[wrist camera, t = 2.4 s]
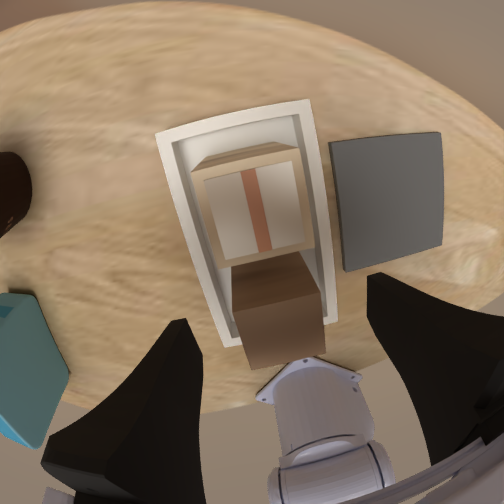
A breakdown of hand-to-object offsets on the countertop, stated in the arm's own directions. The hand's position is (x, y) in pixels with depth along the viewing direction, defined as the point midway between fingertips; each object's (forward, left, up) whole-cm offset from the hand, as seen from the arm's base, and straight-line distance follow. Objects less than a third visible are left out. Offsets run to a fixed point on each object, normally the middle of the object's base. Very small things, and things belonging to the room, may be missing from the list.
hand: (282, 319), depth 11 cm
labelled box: (+2, -2, -10) cm, 11 cm away
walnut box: (-3, +3, -10) cm, 11 cm away
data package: (+14, +22, -11) cm, 28 cm away
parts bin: (0, 0, -10) cm, 10 cm away
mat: (-8, -8, -10) cm, 15 cm away
